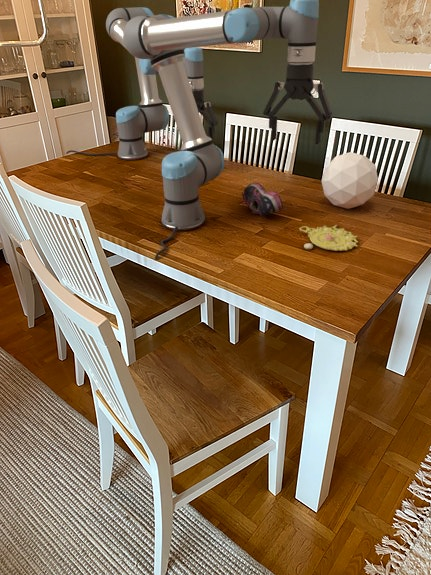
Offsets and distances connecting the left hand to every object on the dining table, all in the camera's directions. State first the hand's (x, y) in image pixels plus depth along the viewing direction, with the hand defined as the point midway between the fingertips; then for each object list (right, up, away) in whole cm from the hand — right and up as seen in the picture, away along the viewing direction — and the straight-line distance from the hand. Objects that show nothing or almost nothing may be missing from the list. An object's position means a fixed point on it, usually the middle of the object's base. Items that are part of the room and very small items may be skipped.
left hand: (197, 140), depth 198 cm
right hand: (+32, -21, -64) cm, 75 cm away
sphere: (+57, -35, -33) cm, 75 cm away
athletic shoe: (+24, -38, -35) cm, 57 cm away
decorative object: (+44, -50, -56) cm, 88 cm away
